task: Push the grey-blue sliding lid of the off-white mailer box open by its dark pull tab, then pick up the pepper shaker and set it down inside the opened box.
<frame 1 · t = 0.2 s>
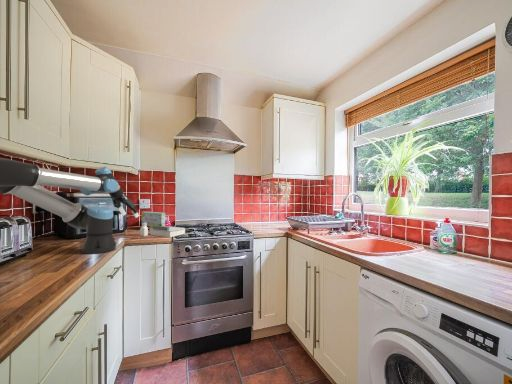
hand: (131, 215, 153), 16 cm above the table, tool tilted 35°, fingers open, 13 cm apart
pepper shaker: (144, 236, 163), on the table
mailer box: (167, 234, 171), on the table
mailer lid: (167, 227, 171), point 5 cm above the table, slide at 0.0 cm
snack box: (153, 229, 192), on the table
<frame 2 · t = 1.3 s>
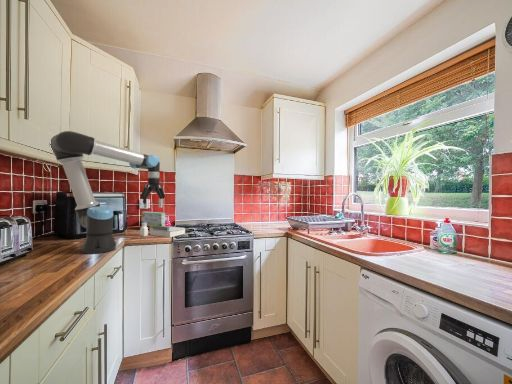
hand: (153, 208, 159), 21 cm above the table, tool pointing down, fingers open, 12 cm apart
nothing on the table moved.
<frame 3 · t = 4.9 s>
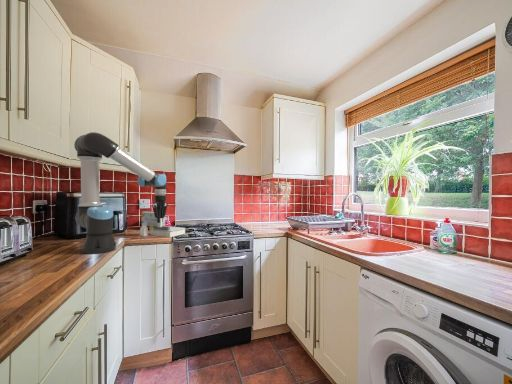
hand: (159, 227, 164), 7 cm above the table, tool pointing down, fingers closed
mailer lid: (168, 227, 172), point 5 cm above the table, slide at 0.6 cm, touching gripper
everything else where it was.
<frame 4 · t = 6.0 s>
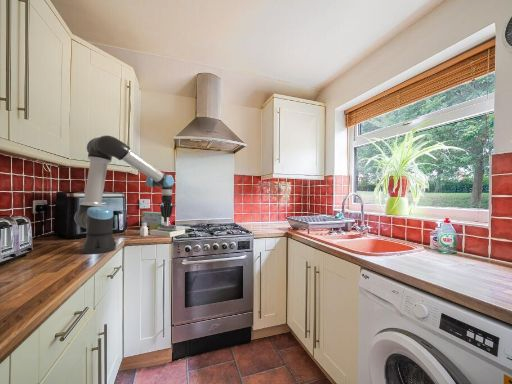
hand: (166, 225, 170), 7 cm above the table, tool pointing down, fingers closed
mailer lid: (174, 226, 178), point 5 cm above the table, slide at 7.0 cm, touching gripper
everything else where it was.
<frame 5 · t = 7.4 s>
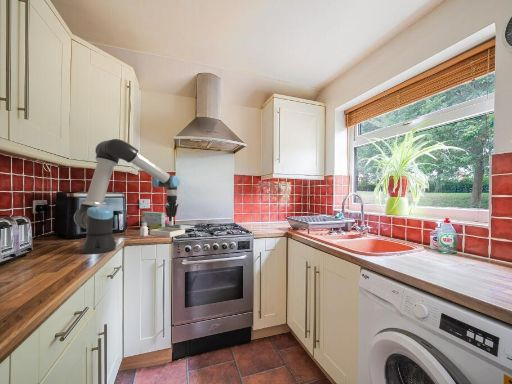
hand: (171, 225, 175), 6 cm above the table, tool pointing down, fingers closed
mailer lid: (178, 225, 183), point 5 cm above the table, slide at 12.1 cm, touching gripper
everything else where it was.
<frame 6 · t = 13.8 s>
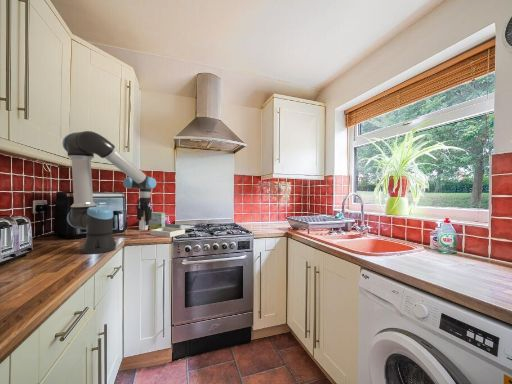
hand: (143, 229, 163), 5 cm above the table, tool pointing down, fingers closed on pepper shaker, 4 cm apart
pepper shaker: (143, 230, 162), point 4 cm above the table, touching gripper
mailer lid: (179, 225, 183), point 5 cm above the table, slide at 12.2 cm
everything else where it was.
when the fingers open (3 cm above the table, at t = 18.6 s): pepper shaker drops 1 cm, resting on mailer box.
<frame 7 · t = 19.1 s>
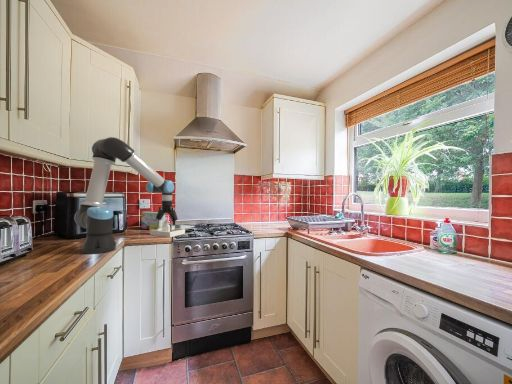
hand: (166, 228, 170), 4 cm above the table, tool pointing down, fingers open, 12 cm apart
pepper shaker: (166, 233, 170), point 1 cm above the table, touching mailer box
everything else where it was.
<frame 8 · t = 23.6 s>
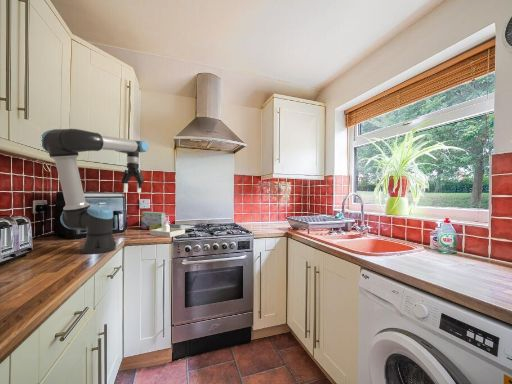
hand: (132, 192, 161), 32 cm above the table, tool pointing down, fingers open, 13 cm apart
nothing on the table moved.
at the end: mailer lid slide at 12.2 cm; pepper shaker inside the target area on the mailer box (0.8 cm from its centre), point 0.8 cm above the mailer box's base; pepper shaker tilted 0° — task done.
